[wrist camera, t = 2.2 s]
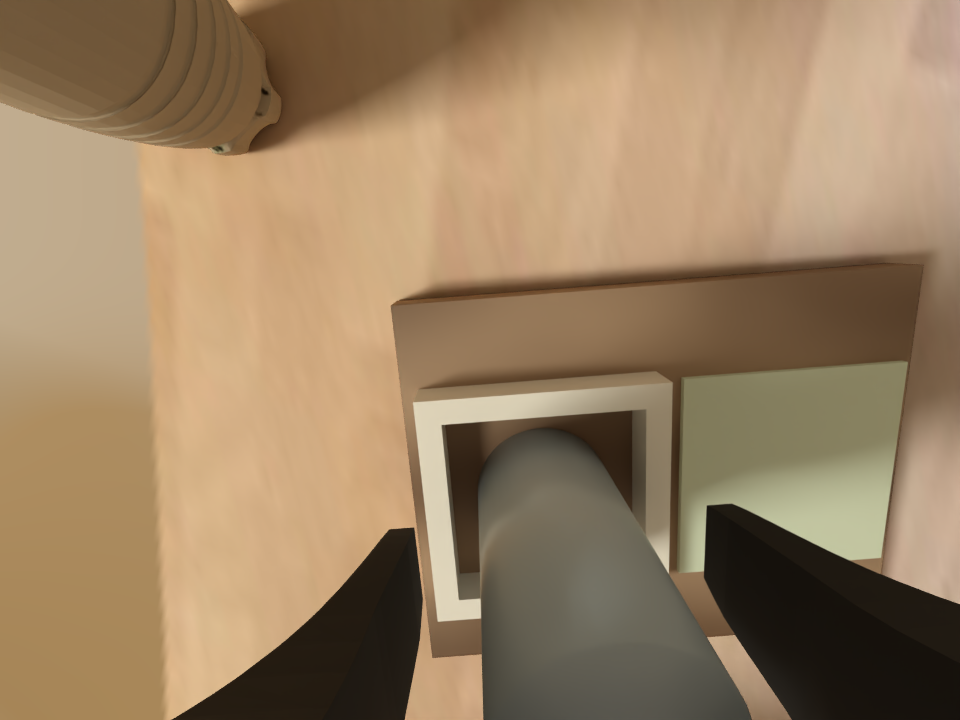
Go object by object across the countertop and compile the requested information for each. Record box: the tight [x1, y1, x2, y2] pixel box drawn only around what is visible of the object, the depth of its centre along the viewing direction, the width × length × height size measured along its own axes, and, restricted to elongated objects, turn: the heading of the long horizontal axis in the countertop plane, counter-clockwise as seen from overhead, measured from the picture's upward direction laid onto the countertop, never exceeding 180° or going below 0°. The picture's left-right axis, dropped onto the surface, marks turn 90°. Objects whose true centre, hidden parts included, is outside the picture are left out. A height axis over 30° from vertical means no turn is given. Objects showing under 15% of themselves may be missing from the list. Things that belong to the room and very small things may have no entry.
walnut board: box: [391, 263, 924, 658], centre depth 15 cm, size 12×15×1 cm
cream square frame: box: [413, 371, 673, 622], centre depth 14 cm, size 7×7×1 cm
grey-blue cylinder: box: [478, 428, 752, 720], centre depth 11 cm, size 4×4×8 cm
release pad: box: [677, 361, 908, 573], centre depth 15 cm, size 6×6×1 cm
